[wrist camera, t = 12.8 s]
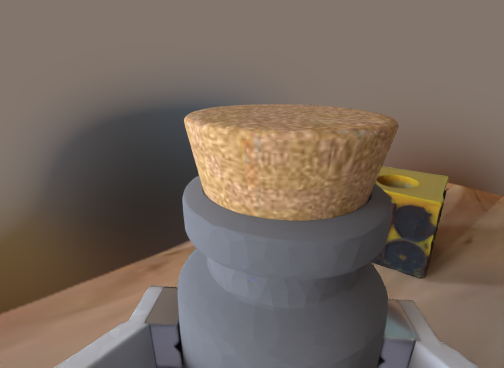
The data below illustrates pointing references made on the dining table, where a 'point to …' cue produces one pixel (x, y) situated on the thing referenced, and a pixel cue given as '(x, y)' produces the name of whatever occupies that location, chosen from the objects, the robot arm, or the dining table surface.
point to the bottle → (285, 237)
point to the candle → (411, 218)
